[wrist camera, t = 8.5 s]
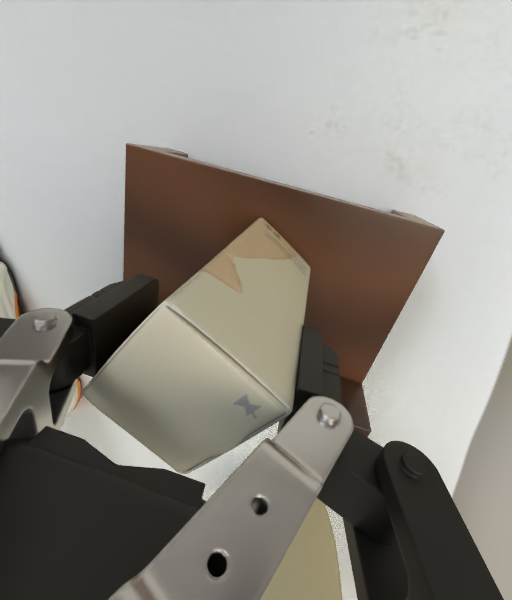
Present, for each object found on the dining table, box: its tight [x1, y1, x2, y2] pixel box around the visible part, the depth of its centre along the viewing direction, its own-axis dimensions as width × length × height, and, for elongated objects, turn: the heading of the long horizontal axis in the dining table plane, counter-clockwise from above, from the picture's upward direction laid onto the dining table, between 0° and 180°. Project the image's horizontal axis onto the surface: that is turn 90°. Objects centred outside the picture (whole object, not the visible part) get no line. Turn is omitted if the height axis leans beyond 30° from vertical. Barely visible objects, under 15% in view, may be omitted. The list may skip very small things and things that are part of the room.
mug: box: [260, 498, 342, 600], centre depth 28 cm, size 11×10×12 cm
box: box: [82, 218, 311, 474], centre depth 13 cm, size 5×4×11 cm
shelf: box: [123, 143, 444, 437], centre depth 19 cm, size 12×18×9 cm, turn 77°
